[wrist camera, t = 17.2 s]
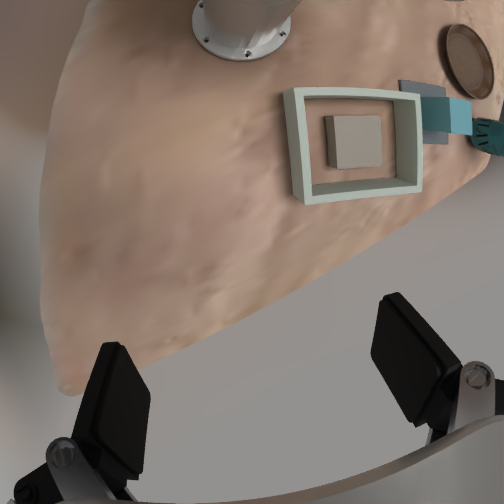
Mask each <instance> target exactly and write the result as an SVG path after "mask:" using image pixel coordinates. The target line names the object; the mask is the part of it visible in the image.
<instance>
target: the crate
mask: <svg viewBox="0 0 504 504" xmlns="http://www.w3.org/2000/svg"><path fill="white" fill-rule="evenodd" d="M318 98H347V99H374V100H389V101H393V105H394V119H395V137H396V177H394V178H380V179H367V180H356V181H345V182H335V183H326V184H317V185H312V184H311V170H310V157H309V145H308V134H307V124H306V114H305V105H304V99H318ZM283 101H284V109H285V118H286V127H287V136H288V146H289V156H290V166H291V177H292V189H293V195H294V196H295V197H296V198H297V199H299V200H300V201H301V202H302V203H303V204H304V205H310V204H318V203H326V202H334V201H342V200H350V199H359V198H367V197H376V196H386V195H396V194H406V193H416V192H422V176H423V136H422V114H421V101H420V94H416V93H409V92H400V91H391V90H380V89H367V88H346V87H299V88H292V89H290V90H287V91H285V92H283ZM325 121H326V132H327V145H328V159H329V166H331V167H333V168H336V169H345V168H358V167H374V166H383V164H382V135H381V119H380V116H325Z"/></svg>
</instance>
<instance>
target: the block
mask: <svg viewBox="0 0 504 504" xmlns="http://www.w3.org/2000/svg"><path fill="white" fill-rule="evenodd" d="M420 101H421V114H422V129H427V130H434V131H441V132H447V133H454V134H464V135H472V111H471V102H469V101H465V100H460V99H456V98H451V97H420Z"/></svg>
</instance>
